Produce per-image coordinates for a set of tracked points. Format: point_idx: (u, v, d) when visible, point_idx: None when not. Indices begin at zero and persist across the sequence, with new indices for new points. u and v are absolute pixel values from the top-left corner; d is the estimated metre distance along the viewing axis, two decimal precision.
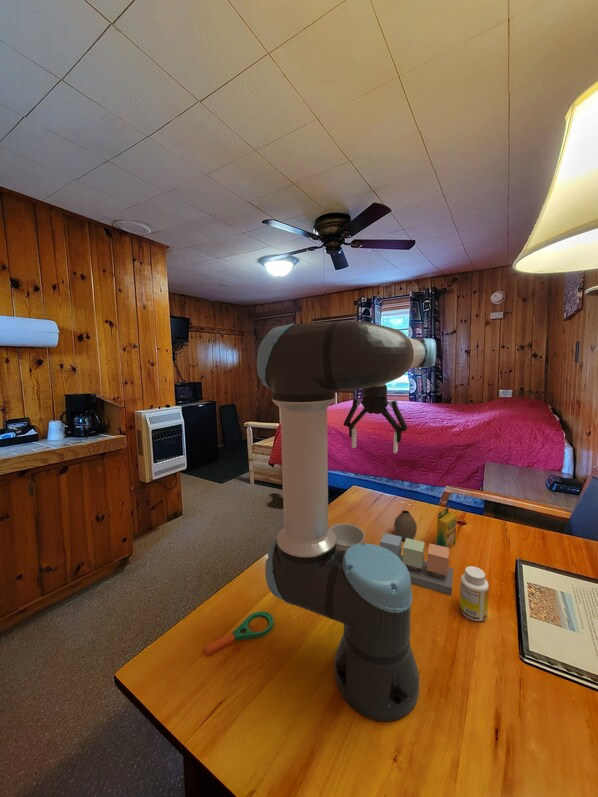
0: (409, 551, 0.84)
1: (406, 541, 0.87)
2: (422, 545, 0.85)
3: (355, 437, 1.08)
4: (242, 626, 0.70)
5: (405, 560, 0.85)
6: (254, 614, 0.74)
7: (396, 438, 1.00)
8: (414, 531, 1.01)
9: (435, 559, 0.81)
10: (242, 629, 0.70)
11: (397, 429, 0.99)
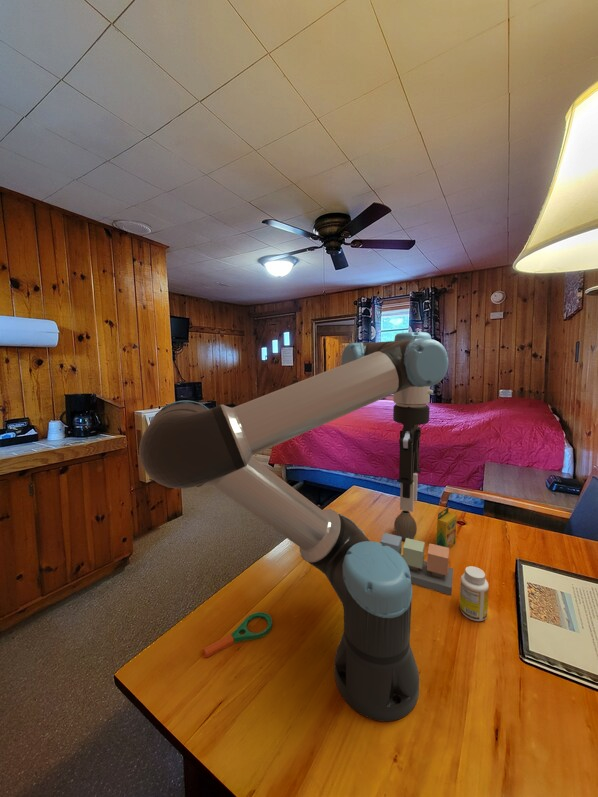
0: (409, 551, 0.84)
1: (406, 541, 0.87)
2: (422, 545, 0.85)
3: None
4: (241, 627, 0.70)
5: (405, 560, 0.85)
6: (253, 615, 0.73)
7: (402, 489, 0.71)
8: (414, 531, 1.01)
9: (435, 559, 0.81)
10: (241, 630, 0.70)
11: None
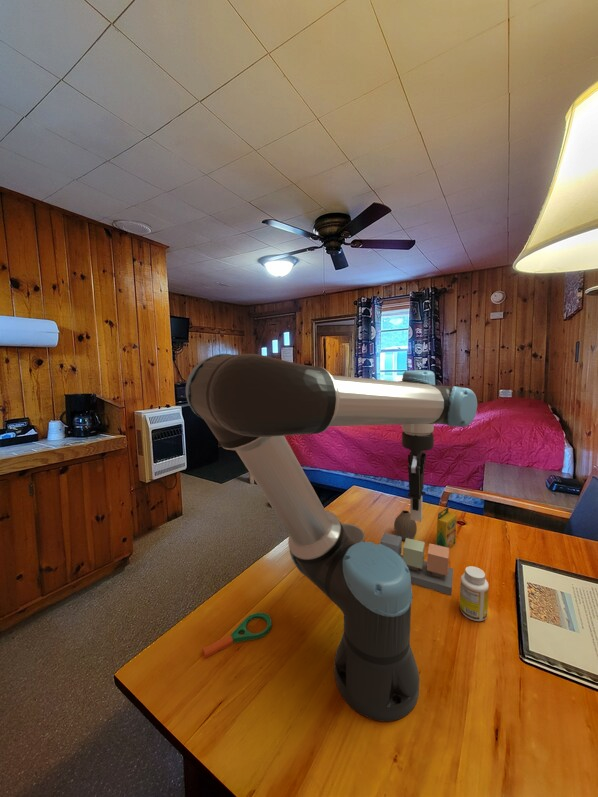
0: (409, 551, 0.84)
1: (406, 541, 0.87)
2: (422, 545, 0.85)
3: None
4: (240, 627, 0.70)
5: (405, 560, 0.85)
6: (252, 615, 0.73)
7: (411, 503, 0.84)
8: (414, 531, 1.01)
9: (435, 559, 0.81)
10: (240, 631, 0.70)
11: None
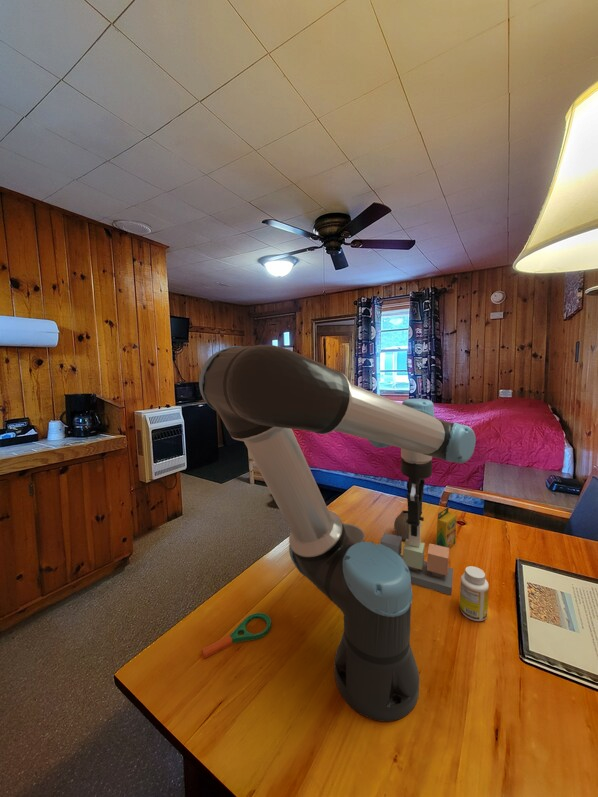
0: (409, 552, 0.84)
1: (406, 542, 0.87)
2: (422, 546, 0.85)
3: None
4: (239, 628, 0.70)
5: (405, 561, 0.85)
6: (252, 615, 0.73)
7: (410, 528, 0.85)
8: None
9: (435, 559, 0.81)
10: (240, 631, 0.69)
11: None
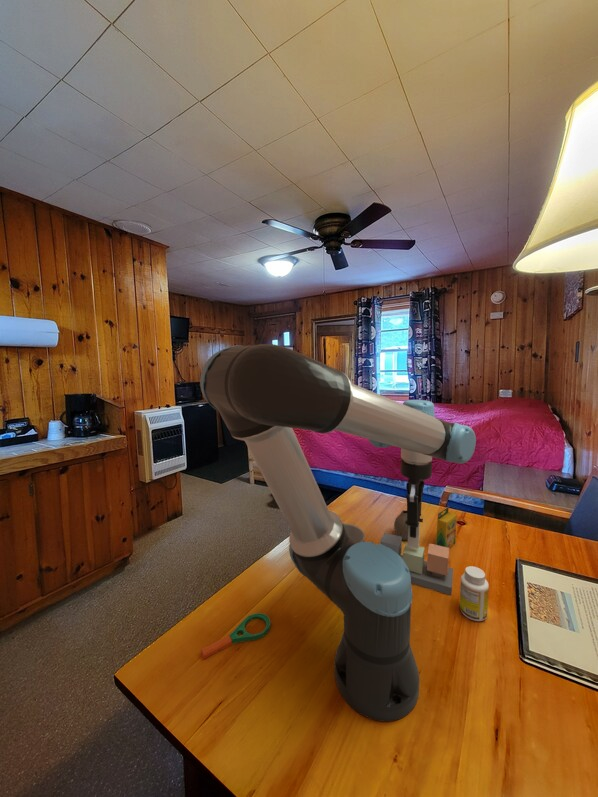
0: (409, 557, 0.84)
1: (406, 546, 0.87)
2: (422, 550, 0.85)
3: None
4: (239, 628, 0.70)
5: None
6: (251, 616, 0.73)
7: (409, 530, 0.85)
8: None
9: (435, 559, 0.81)
10: (239, 631, 0.69)
11: None
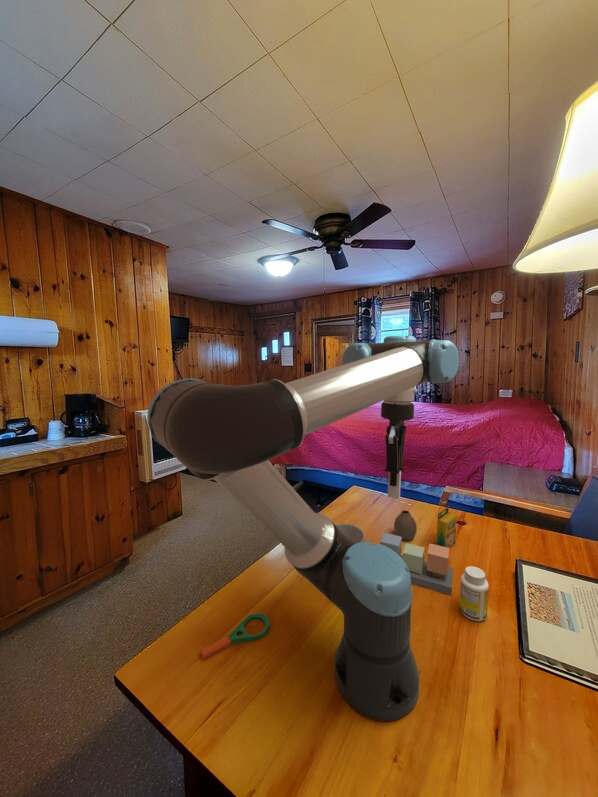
0: (409, 557, 0.84)
1: (406, 546, 0.87)
2: (422, 550, 0.85)
3: None
4: (238, 629, 0.70)
5: None
6: (250, 616, 0.73)
7: (389, 478, 0.79)
8: (414, 531, 1.01)
9: (435, 559, 0.81)
10: (238, 632, 0.69)
11: None
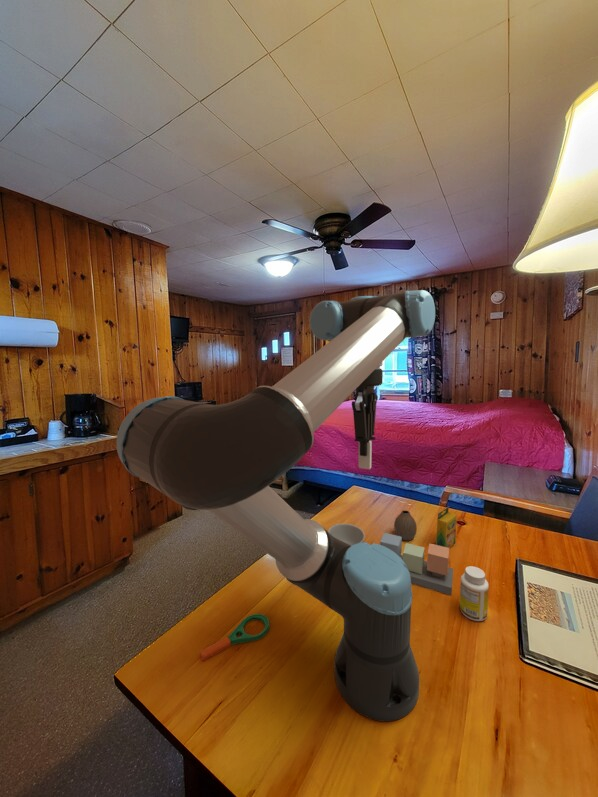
0: (409, 557, 0.84)
1: (406, 546, 0.87)
2: (422, 550, 0.85)
3: None
4: (237, 629, 0.69)
5: None
6: (249, 617, 0.73)
7: (360, 449, 0.76)
8: (414, 531, 1.01)
9: (435, 559, 0.81)
10: (238, 632, 0.69)
11: None
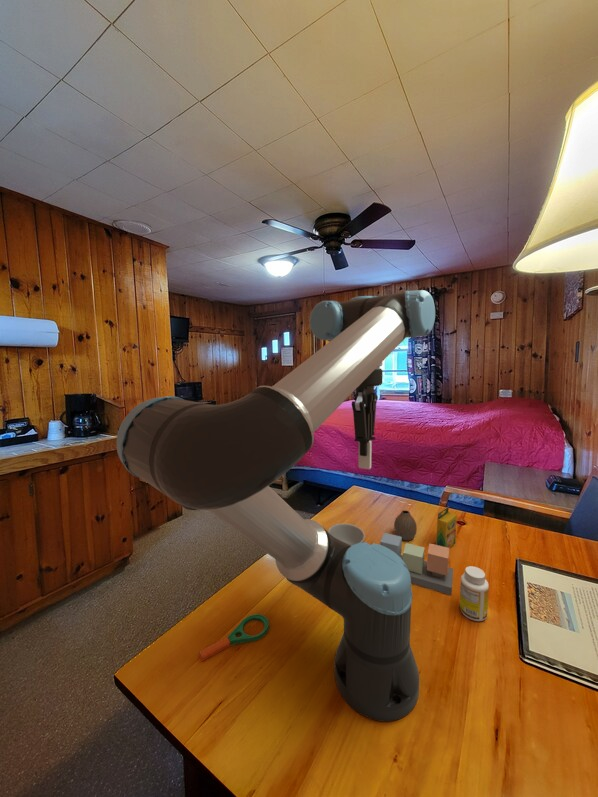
0: (409, 557, 0.84)
1: (406, 546, 0.87)
2: (422, 550, 0.85)
3: None
4: (237, 630, 0.69)
5: None
6: (249, 617, 0.73)
7: (360, 449, 0.76)
8: (414, 531, 1.01)
9: (435, 559, 0.81)
10: (237, 633, 0.69)
11: None
